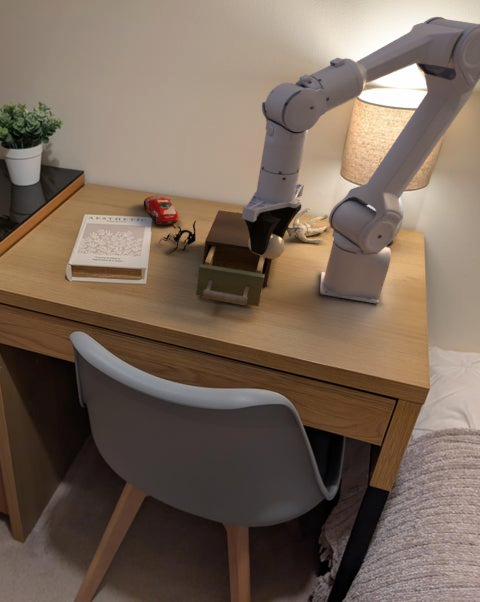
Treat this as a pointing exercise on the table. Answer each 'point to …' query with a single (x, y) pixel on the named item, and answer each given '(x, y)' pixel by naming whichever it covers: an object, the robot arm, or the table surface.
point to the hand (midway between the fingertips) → (265, 247)
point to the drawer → (231, 276)
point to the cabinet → (231, 236)
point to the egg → (272, 247)
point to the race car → (161, 210)
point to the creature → (190, 239)
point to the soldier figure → (307, 228)
